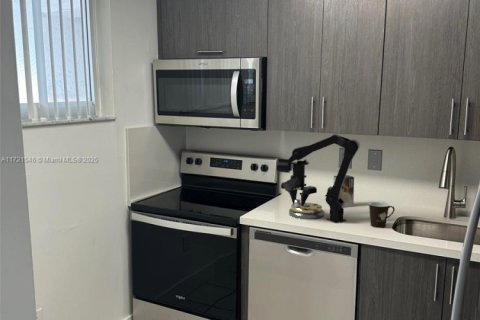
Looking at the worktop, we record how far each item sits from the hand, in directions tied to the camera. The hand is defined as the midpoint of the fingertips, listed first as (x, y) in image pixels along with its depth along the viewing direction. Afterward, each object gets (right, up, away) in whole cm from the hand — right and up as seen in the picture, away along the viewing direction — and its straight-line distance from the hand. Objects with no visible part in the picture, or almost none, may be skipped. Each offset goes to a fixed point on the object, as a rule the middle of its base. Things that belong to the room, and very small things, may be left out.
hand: (298, 205), depth 213 cm
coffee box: (+27, -3, +23) cm, 35 cm away
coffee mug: (+36, -8, -15) cm, 40 cm away
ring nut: (+5, -3, +4) cm, 7 cm away
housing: (+5, -5, +5) cm, 8 cm away
